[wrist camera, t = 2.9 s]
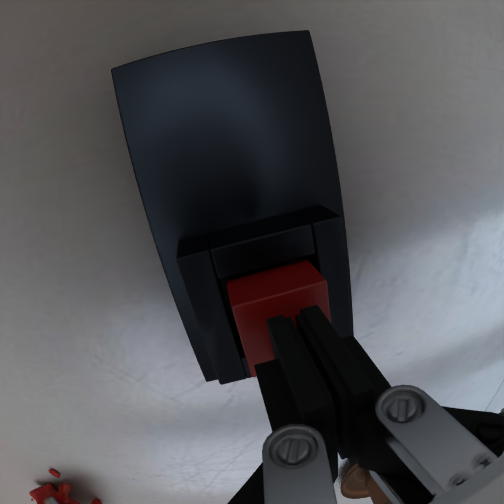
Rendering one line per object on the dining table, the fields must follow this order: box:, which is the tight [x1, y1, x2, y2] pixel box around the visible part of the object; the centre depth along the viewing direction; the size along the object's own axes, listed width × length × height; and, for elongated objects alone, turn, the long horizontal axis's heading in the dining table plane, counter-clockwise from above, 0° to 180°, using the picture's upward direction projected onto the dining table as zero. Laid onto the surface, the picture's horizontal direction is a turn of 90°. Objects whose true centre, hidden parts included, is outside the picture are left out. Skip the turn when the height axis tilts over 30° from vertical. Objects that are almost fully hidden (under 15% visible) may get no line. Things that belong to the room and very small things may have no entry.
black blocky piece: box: [111, 30, 354, 385], centre depth 13 cm, size 15×8×4 cm, turn 12°
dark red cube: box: [226, 259, 331, 377], centre depth 12 cm, size 3×3×2 cm
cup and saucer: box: [341, 464, 393, 504], centre depth 23 cm, size 12×12×6 cm
